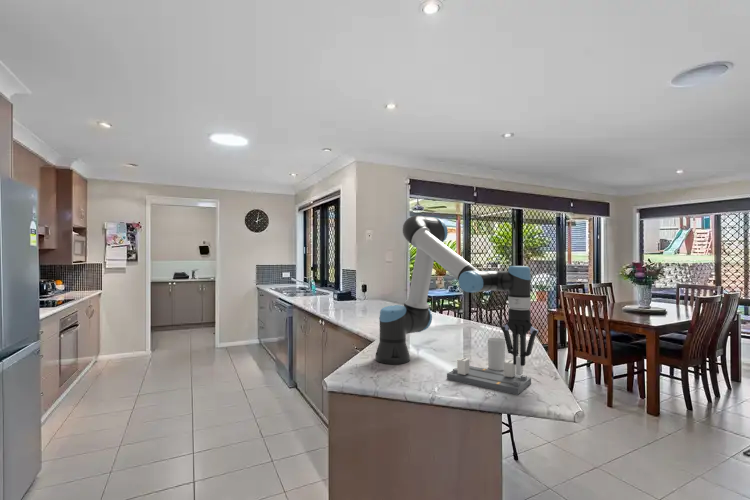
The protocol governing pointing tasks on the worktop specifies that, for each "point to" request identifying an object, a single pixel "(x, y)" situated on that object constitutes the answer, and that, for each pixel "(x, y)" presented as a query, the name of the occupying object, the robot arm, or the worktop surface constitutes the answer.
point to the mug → (496, 354)
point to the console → (491, 380)
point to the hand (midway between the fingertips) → (519, 374)
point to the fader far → (509, 368)
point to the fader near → (463, 366)
